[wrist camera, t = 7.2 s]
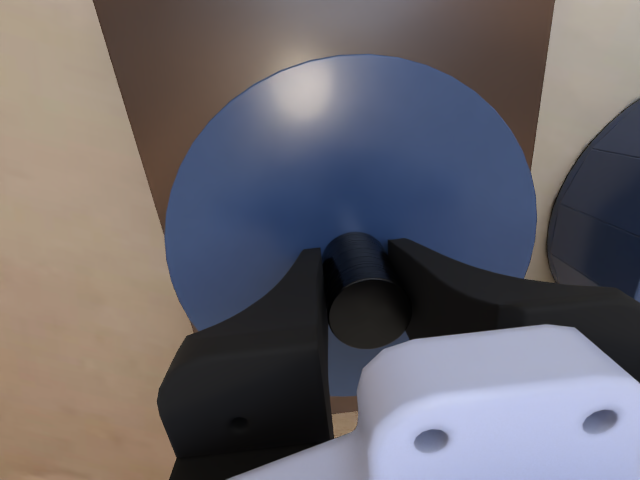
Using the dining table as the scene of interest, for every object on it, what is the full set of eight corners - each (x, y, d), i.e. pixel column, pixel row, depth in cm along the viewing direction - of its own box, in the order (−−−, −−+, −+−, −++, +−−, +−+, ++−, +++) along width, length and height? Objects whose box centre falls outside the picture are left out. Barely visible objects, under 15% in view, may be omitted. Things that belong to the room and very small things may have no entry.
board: (485, 374, 20) (499, 395, 19) (227, 403, 20) (222, 426, 18) (536, -61, 12) (567, -80, 11) (108, -14, 12) (83, -28, 11)
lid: (500, 361, 16) (566, 451, 12) (217, 393, 16) (189, 494, 12) (545, 35, 11) (690, 0, 7) (125, 81, 11) (19, 74, 7)
